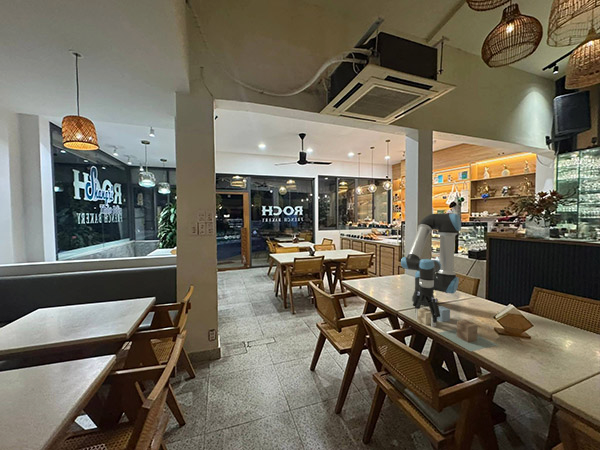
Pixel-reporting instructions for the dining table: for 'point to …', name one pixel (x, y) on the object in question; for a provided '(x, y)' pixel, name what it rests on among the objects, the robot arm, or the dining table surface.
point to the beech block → (424, 316)
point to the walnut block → (467, 331)
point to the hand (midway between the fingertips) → (425, 323)
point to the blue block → (443, 314)
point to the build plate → (470, 346)
